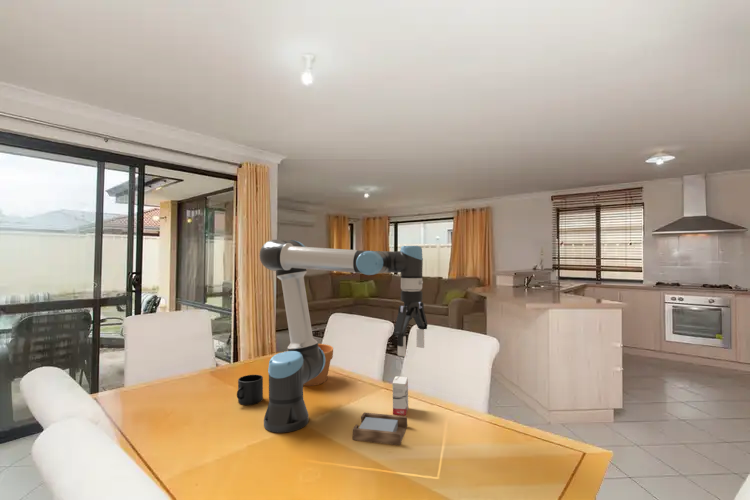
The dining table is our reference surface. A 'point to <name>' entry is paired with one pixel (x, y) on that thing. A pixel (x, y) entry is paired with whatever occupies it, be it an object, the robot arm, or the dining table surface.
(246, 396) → the mug
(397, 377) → the ink box
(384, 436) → the box
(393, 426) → the tile
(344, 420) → the dining table surface
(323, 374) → the flower pot
